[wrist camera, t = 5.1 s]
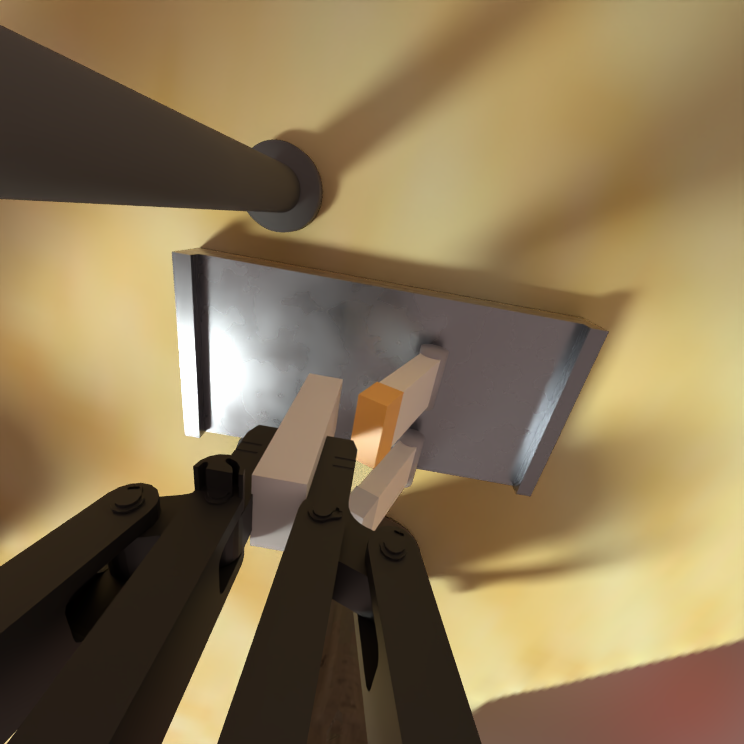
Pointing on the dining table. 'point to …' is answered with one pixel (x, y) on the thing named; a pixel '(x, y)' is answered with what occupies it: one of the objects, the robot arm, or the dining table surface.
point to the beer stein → (340, 681)
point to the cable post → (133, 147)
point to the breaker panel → (377, 359)
